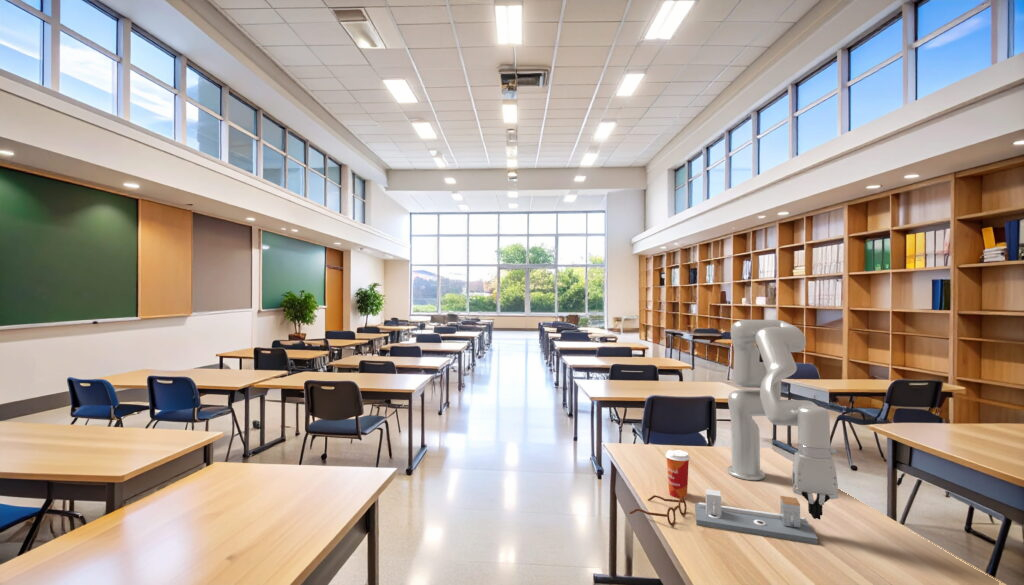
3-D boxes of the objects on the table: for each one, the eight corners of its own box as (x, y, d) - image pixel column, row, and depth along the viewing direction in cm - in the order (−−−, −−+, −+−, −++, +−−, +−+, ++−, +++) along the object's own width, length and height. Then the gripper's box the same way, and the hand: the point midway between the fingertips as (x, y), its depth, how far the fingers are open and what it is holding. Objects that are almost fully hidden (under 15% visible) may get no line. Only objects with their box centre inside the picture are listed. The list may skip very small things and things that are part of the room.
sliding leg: (780, 518, 128) (780, 495, 128) (796, 521, 127) (796, 497, 127) (784, 526, 124) (784, 502, 124) (801, 529, 122) (800, 504, 123)
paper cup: (662, 490, 152) (661, 449, 153) (683, 489, 153) (683, 448, 153) (672, 500, 145) (671, 457, 145) (694, 499, 145) (694, 456, 146)
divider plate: (695, 507, 140) (694, 483, 140) (805, 523, 129) (805, 497, 129) (696, 524, 128) (696, 498, 129) (817, 544, 118) (817, 515, 118)
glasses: (670, 529, 127) (670, 511, 127) (628, 514, 136) (628, 498, 136) (687, 513, 137) (687, 496, 137) (647, 500, 145) (647, 485, 146)
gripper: (841, 449, 125) (842, 515, 124) (780, 444, 130) (781, 507, 130) (850, 458, 118) (852, 528, 117) (786, 452, 123) (787, 518, 123)
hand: (815, 516), depth 124 cm, fingers closed
